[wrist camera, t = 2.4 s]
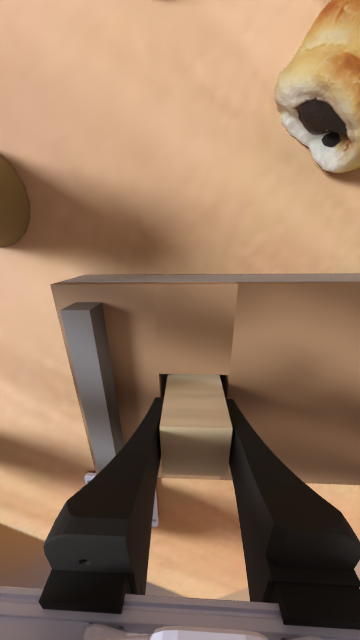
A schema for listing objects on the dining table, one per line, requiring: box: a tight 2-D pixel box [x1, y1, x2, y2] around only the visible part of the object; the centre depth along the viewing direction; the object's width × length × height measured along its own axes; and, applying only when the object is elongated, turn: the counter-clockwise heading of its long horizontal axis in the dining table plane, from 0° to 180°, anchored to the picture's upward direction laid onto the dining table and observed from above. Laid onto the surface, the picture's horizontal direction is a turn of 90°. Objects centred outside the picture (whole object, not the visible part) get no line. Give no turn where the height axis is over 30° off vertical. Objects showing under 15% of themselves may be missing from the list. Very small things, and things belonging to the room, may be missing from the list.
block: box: [160, 374, 233, 477], centre depth 13 cm, size 4×4×7 cm
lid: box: [51, 281, 360, 485], centre depth 13 cm, size 16×22×2 cm
